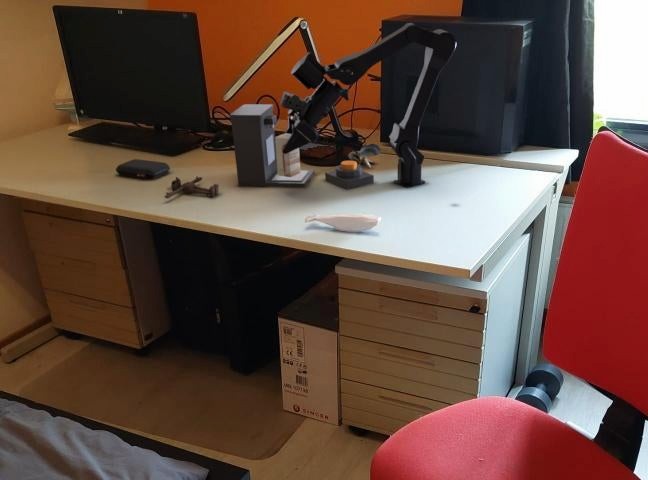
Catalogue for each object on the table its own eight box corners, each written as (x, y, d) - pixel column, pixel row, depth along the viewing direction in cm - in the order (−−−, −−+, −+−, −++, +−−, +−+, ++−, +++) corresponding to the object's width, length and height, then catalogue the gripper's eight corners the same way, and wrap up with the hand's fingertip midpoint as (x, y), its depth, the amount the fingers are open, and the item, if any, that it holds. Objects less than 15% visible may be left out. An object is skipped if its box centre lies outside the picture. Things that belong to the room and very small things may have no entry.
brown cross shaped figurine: (197, 195, 185) (149, 184, 189) (198, 210, 187) (151, 200, 191) (231, 175, 199) (186, 166, 203) (232, 190, 201) (187, 181, 205)
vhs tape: (335, 153, 227) (335, 146, 226) (321, 159, 222) (320, 152, 221) (300, 147, 234) (300, 141, 233) (285, 153, 229) (284, 146, 228)
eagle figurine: (372, 168, 207) (386, 155, 213) (358, 147, 205) (373, 134, 211) (355, 179, 213) (369, 166, 218) (341, 158, 211) (356, 145, 216)
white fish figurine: (376, 237, 165) (375, 220, 163) (304, 230, 170) (302, 213, 168) (383, 229, 169) (383, 212, 167) (312, 222, 174) (311, 206, 172)
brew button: (360, 169, 199) (359, 162, 198) (347, 172, 197) (346, 165, 196) (350, 165, 202) (350, 159, 201) (338, 168, 200) (337, 162, 199)
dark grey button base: (373, 183, 200) (373, 168, 197) (347, 189, 195) (347, 175, 193) (351, 174, 207) (350, 160, 205) (325, 180, 203) (324, 166, 201)
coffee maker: (314, 173, 209) (310, 104, 198) (304, 188, 197) (299, 115, 187) (251, 172, 212) (244, 104, 201) (237, 186, 200) (229, 115, 190)
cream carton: (290, 178, 188) (287, 138, 183) (277, 176, 190) (273, 137, 185) (302, 172, 192) (299, 134, 187) (288, 170, 194) (285, 132, 189)
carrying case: (111, 176, 212) (150, 182, 206) (109, 166, 210) (148, 171, 204) (135, 167, 220) (173, 172, 214) (133, 157, 218) (172, 161, 212)
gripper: (293, 73, 187) (255, 121, 191) (301, 86, 171) (260, 137, 176) (324, 103, 192) (287, 148, 197) (335, 118, 177) (295, 166, 181)
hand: (282, 149), depth 187 cm, fingers closed on cream carton, 6 cm apart
